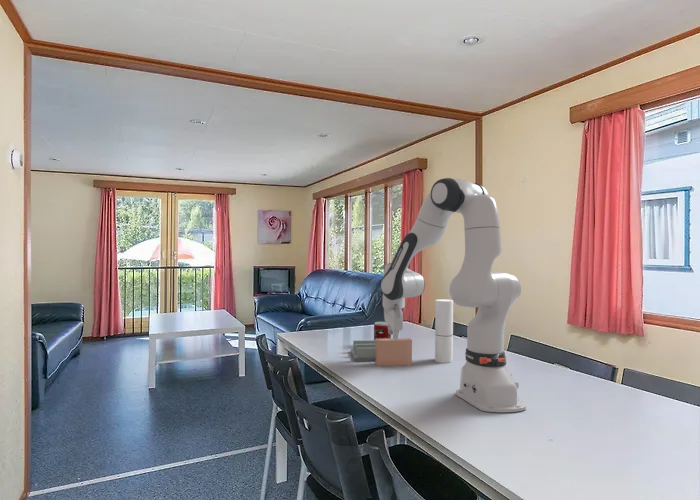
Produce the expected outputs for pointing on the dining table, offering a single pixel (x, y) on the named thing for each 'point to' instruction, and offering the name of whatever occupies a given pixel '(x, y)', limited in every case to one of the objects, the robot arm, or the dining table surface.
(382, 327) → the canned food
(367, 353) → the slotted rail base
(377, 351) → the terracotta tile
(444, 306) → the cylindrical container
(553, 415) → the dining table surface
